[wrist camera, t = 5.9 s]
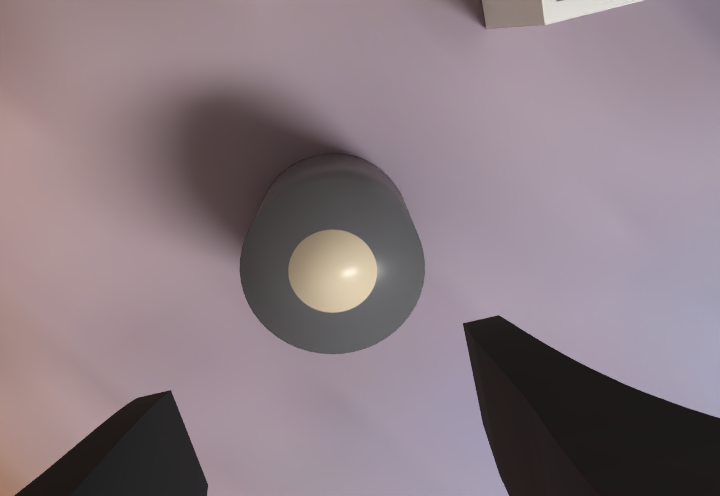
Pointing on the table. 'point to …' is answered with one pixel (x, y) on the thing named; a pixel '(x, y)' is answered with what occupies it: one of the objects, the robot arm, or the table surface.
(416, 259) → the ball-topped grey cylinder
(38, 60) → the table surface
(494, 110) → the table surface
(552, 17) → the box
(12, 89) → the table surface
